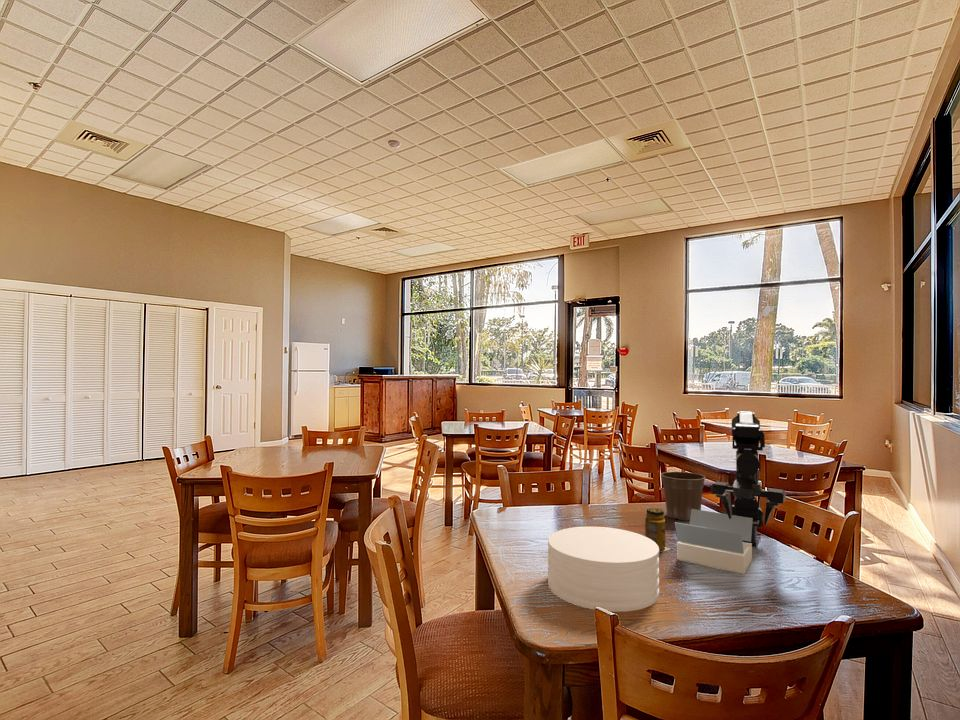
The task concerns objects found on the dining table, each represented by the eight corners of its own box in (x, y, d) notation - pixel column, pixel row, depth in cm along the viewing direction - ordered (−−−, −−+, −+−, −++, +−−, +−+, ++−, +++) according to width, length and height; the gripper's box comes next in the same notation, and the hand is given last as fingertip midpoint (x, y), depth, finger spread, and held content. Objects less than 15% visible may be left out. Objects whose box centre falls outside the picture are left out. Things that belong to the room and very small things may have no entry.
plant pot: (652, 512, 204) (652, 471, 204) (689, 510, 207) (689, 470, 207) (675, 523, 188) (675, 480, 188) (714, 521, 191) (714, 478, 191)
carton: (688, 547, 162) (688, 532, 162) (751, 560, 151) (751, 543, 151) (677, 559, 151) (677, 542, 151) (744, 574, 141) (744, 556, 141)
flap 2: (743, 552, 141) (743, 553, 141) (678, 540, 152) (677, 541, 151) (741, 533, 139) (741, 534, 139) (675, 521, 149) (674, 522, 149)
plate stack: (683, 596, 127) (683, 550, 127) (599, 622, 113) (599, 570, 113) (604, 560, 151) (604, 521, 152) (527, 578, 138) (527, 535, 138)
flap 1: (688, 530, 161) (688, 530, 162) (750, 541, 151) (750, 541, 151) (691, 508, 164) (691, 509, 165) (752, 518, 154) (752, 518, 154)
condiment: (671, 549, 161) (671, 511, 161) (654, 554, 156) (653, 515, 156) (652, 542, 167) (651, 505, 167) (634, 547, 162) (634, 509, 162)
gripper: (705, 468, 147) (706, 522, 147) (780, 476, 136) (780, 535, 135) (715, 462, 156) (715, 513, 156) (785, 470, 144) (786, 525, 144)
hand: (747, 521), depth 147 cm, fingers open, 9 cm apart
